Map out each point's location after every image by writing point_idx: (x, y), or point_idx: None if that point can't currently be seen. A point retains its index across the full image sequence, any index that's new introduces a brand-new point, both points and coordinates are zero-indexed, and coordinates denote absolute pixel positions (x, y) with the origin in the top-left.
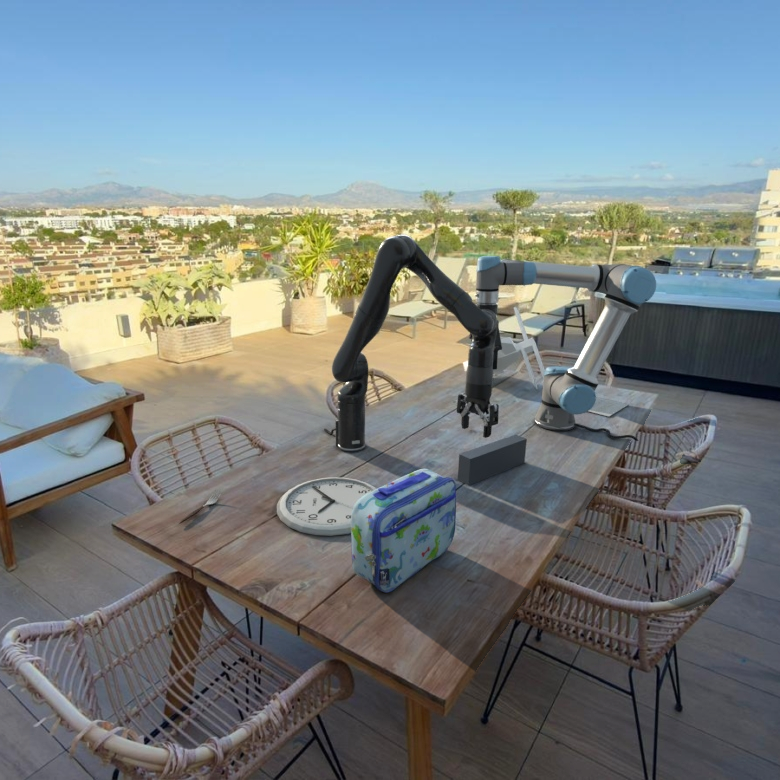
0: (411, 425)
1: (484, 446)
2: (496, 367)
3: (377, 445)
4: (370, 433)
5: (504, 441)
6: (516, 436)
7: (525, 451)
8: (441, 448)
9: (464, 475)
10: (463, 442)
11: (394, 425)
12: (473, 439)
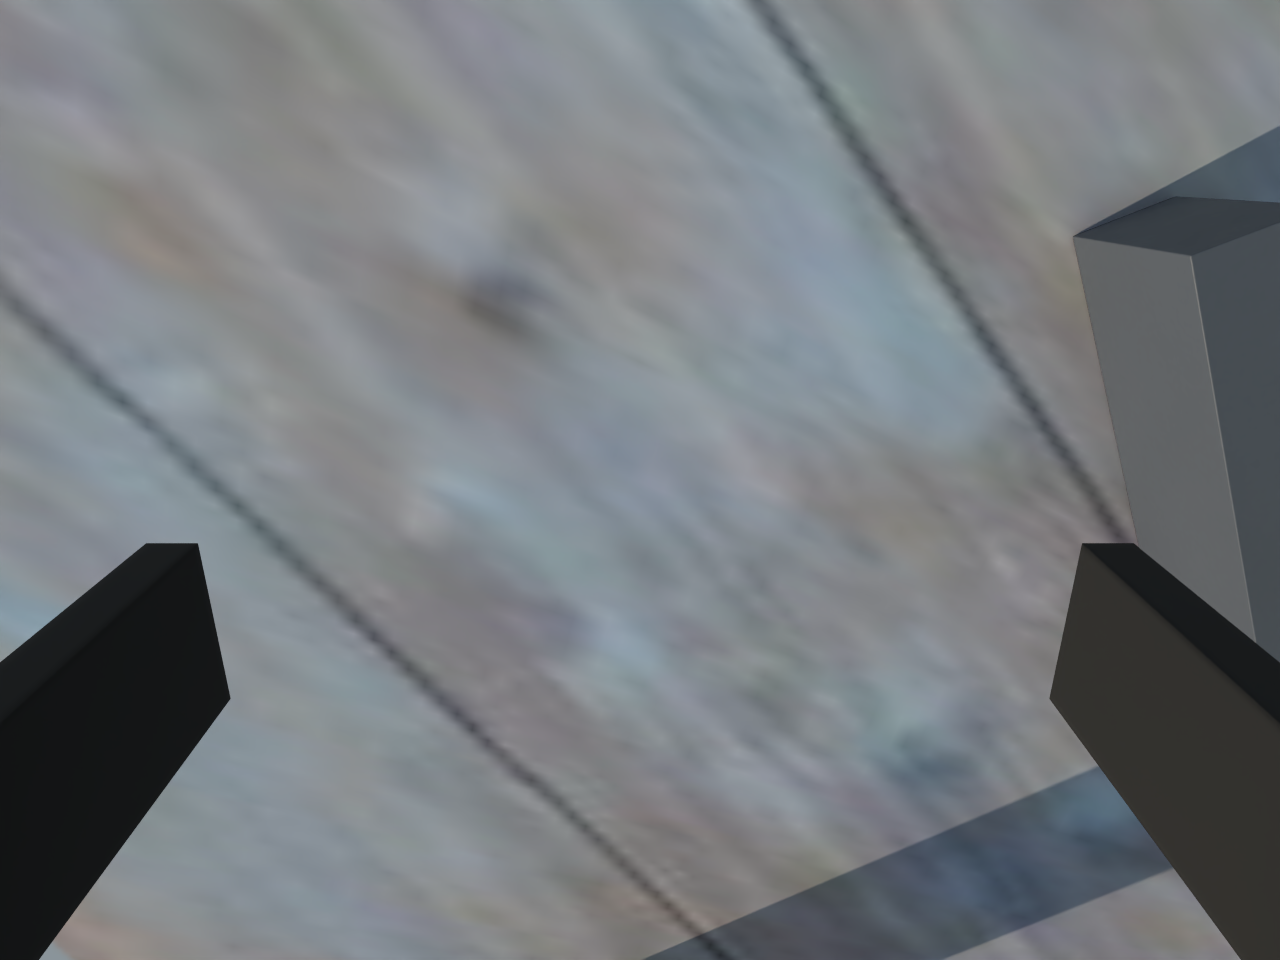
0: (305, 690)
1: (1270, 622)
2: (1151, 572)
3: (599, 939)
4: (411, 935)
5: (1272, 435)
6: (1234, 274)
7: (1239, 201)
8: (745, 639)
9: None
10: (692, 465)
11: (292, 787)
12: (658, 369)
